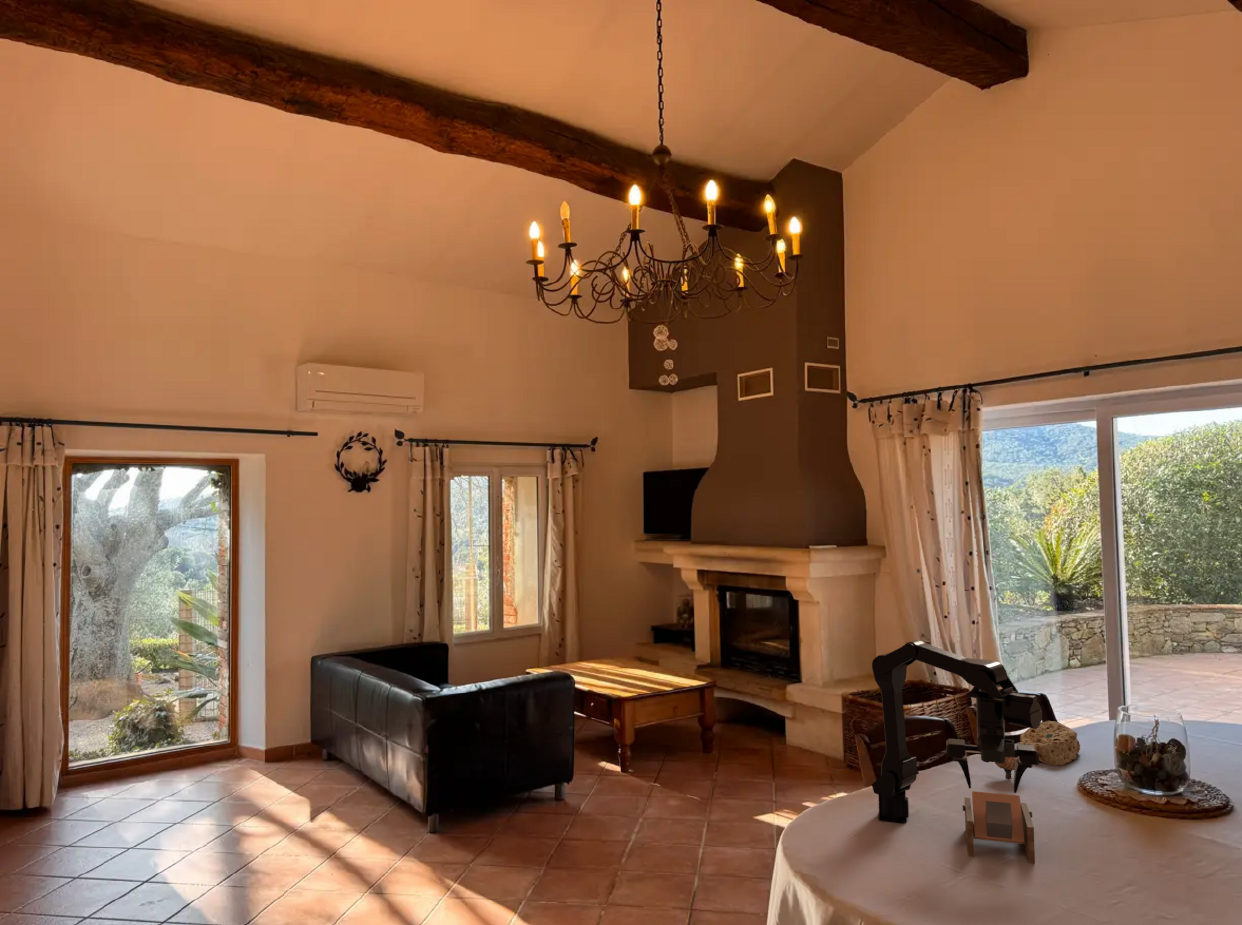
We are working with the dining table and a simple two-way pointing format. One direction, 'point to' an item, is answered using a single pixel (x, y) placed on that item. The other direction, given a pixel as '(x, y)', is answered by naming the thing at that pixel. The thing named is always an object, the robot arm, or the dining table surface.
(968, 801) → the trapdoor frame
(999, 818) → the taupe matte cube
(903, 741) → the robot arm
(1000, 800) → the trapdoor
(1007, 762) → the acorn
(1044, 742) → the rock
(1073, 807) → the dining table surface
